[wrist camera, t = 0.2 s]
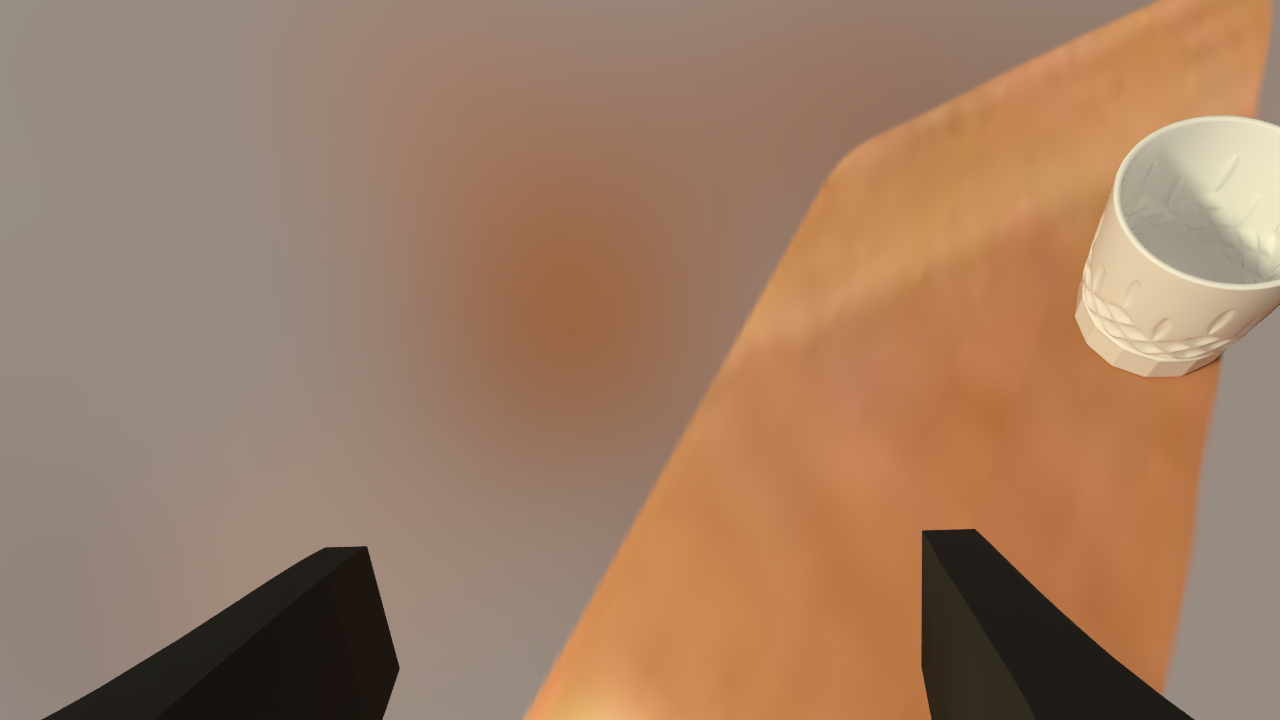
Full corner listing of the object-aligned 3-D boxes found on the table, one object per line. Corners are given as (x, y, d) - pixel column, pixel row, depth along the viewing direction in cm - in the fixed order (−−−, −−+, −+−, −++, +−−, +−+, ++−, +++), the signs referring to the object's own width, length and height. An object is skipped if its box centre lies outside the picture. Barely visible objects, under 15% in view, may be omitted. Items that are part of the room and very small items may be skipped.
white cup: (1185, 422, 40) (1281, 327, 31) (1028, 331, 43) (1073, 221, 34) (1277, 298, 41) (1393, 172, 32) (1117, 219, 44) (1182, 85, 35)
